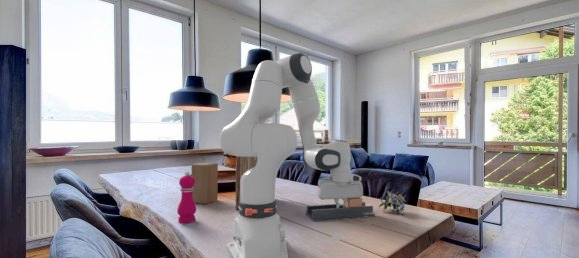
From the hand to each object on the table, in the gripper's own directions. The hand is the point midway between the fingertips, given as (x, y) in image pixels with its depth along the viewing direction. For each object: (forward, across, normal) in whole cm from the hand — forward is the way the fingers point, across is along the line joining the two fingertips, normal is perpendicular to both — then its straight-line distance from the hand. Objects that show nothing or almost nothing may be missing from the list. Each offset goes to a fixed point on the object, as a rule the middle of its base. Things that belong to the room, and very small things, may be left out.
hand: (340, 208), depth 115 cm
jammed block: (+2, +6, 0) cm, 7 cm away
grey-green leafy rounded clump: (+3, +24, -2) cm, 24 cm away
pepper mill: (+3, -64, +8) cm, 65 cm away
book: (+3, -34, +28) cm, 44 cm away
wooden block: (+3, -59, +38) cm, 70 cm away
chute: (+3, 0, 0) cm, 3 cm away
